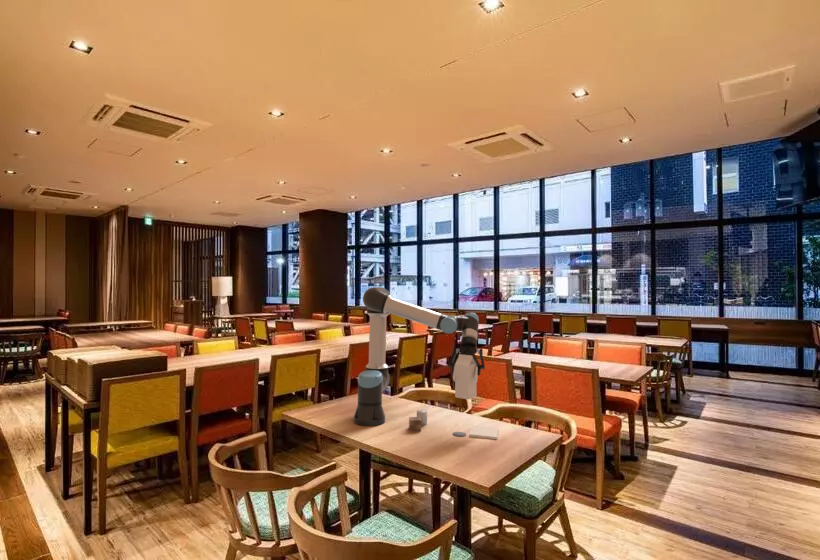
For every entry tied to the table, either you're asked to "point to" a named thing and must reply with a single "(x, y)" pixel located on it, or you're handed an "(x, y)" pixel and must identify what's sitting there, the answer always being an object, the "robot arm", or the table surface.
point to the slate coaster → (459, 434)
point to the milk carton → (465, 377)
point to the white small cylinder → (422, 416)
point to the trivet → (484, 432)
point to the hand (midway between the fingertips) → (464, 380)
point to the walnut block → (415, 423)
